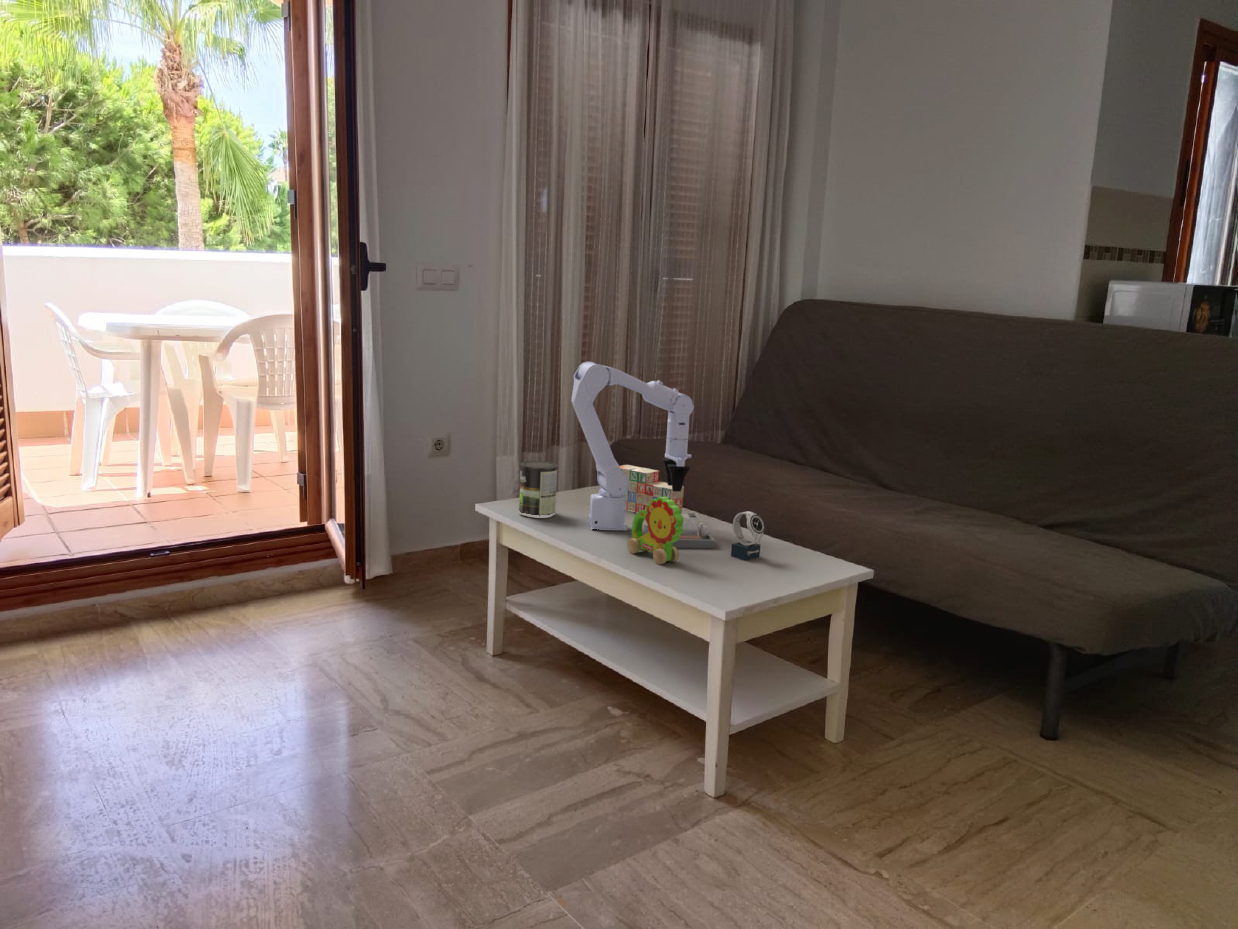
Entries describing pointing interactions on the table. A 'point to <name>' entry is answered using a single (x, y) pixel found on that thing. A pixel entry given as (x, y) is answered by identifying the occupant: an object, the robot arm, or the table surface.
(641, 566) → the table surface
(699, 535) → the tray
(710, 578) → the table surface
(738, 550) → the watch
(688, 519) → the drive
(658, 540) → the toy lion
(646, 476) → the stack of blocks
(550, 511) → the coffee can
